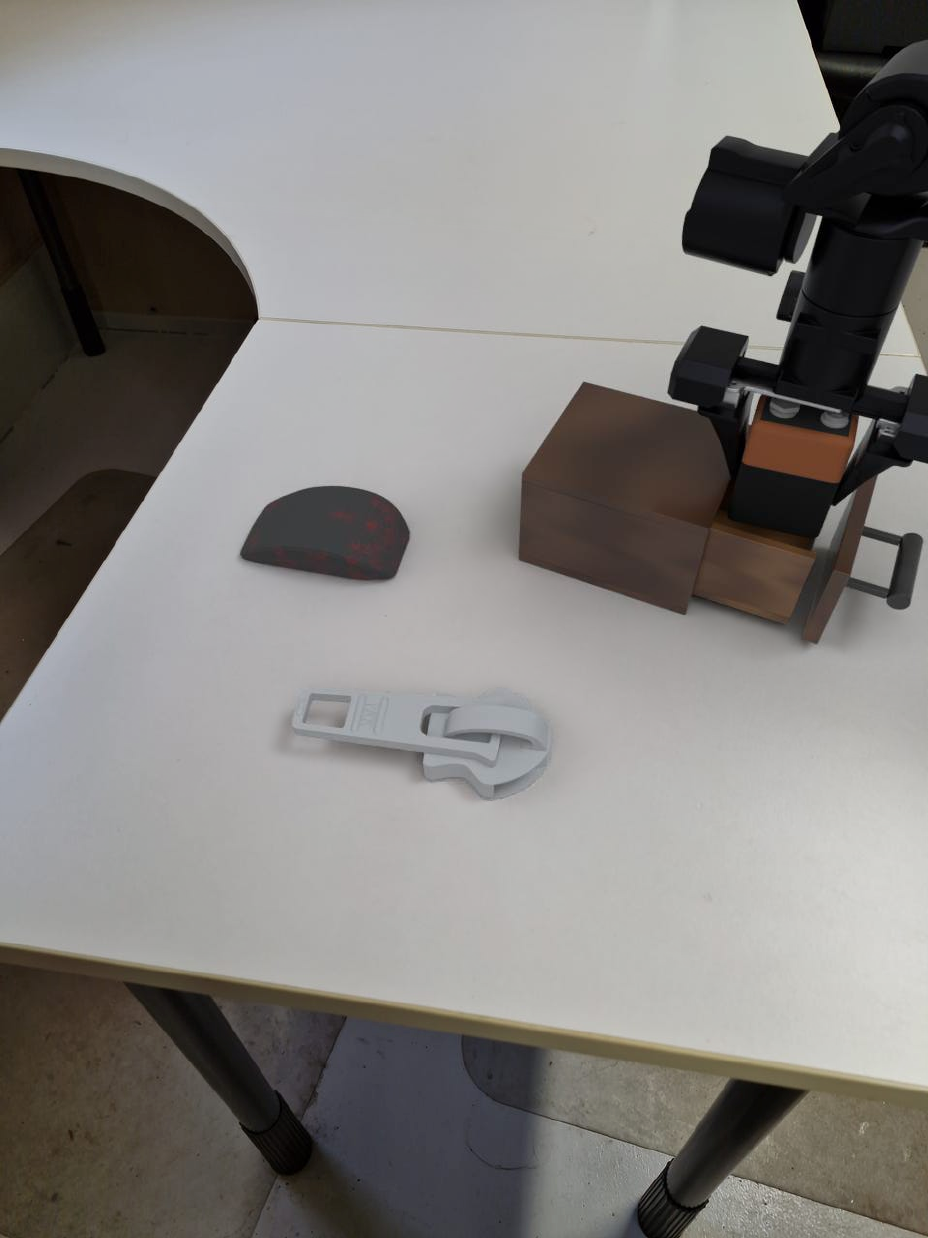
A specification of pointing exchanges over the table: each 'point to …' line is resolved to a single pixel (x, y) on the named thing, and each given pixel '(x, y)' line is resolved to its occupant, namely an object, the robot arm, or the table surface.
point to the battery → (792, 466)
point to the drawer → (798, 565)
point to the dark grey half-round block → (330, 533)
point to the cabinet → (624, 495)
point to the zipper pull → (445, 734)
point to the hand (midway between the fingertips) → (783, 488)
